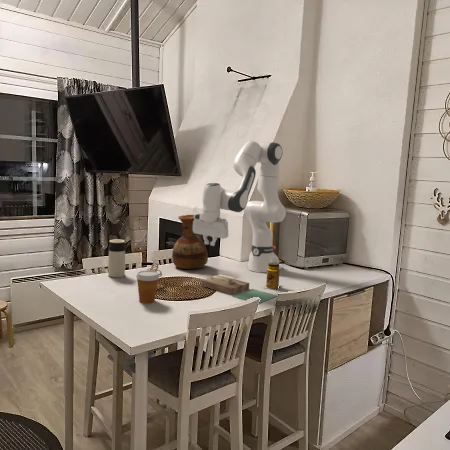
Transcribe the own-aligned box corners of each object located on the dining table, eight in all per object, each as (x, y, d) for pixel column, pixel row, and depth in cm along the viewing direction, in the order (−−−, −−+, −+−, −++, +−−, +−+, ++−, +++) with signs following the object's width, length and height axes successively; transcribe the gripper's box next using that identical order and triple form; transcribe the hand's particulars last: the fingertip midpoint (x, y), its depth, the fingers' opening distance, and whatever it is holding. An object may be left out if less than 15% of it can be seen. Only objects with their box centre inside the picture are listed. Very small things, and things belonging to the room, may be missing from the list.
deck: (219, 281, 212) (220, 275, 212) (248, 289, 201) (249, 283, 201) (201, 286, 201) (201, 280, 201) (231, 295, 190) (231, 288, 190)
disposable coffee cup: (138, 305, 170) (138, 276, 168) (133, 298, 179) (134, 270, 177) (161, 303, 174) (162, 275, 172) (155, 296, 182) (156, 269, 181)
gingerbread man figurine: (159, 286, 198) (159, 261, 197) (164, 288, 196) (165, 262, 194) (143, 289, 192) (144, 263, 190) (149, 291, 189) (149, 265, 188)
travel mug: (119, 278, 207) (119, 242, 205) (105, 276, 210) (105, 241, 207) (127, 275, 215) (128, 240, 212) (114, 273, 217) (114, 238, 215)
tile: (220, 278, 207) (220, 274, 206) (235, 282, 201) (235, 278, 201) (212, 280, 202) (212, 276, 202) (227, 284, 196) (227, 280, 196)
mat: (252, 289, 201) (252, 288, 201) (277, 296, 193) (278, 295, 193) (232, 296, 189) (232, 295, 189) (258, 303, 180) (258, 303, 180)
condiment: (263, 288, 204) (265, 264, 203) (268, 284, 212) (269, 260, 211) (278, 290, 202) (279, 266, 200) (282, 286, 210) (284, 262, 208)
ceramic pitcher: (165, 265, 239) (166, 213, 235) (192, 261, 252) (195, 212, 248) (186, 273, 225) (188, 217, 220) (214, 268, 238) (217, 216, 234)
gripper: (231, 218, 200) (230, 247, 202) (199, 214, 212) (198, 241, 214) (223, 219, 195) (222, 249, 197) (191, 214, 207) (190, 242, 209)
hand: (209, 244), depth 205 cm, fingers open, 2 cm apart
